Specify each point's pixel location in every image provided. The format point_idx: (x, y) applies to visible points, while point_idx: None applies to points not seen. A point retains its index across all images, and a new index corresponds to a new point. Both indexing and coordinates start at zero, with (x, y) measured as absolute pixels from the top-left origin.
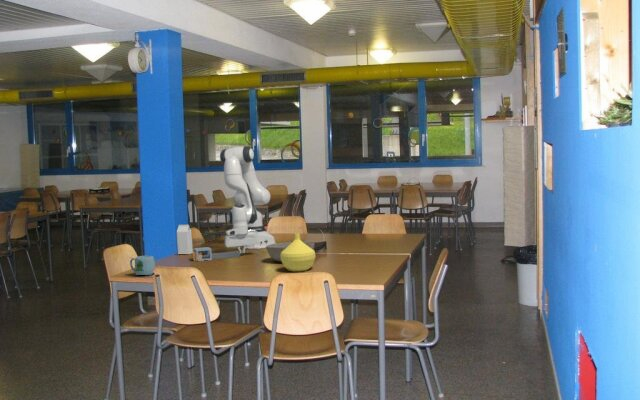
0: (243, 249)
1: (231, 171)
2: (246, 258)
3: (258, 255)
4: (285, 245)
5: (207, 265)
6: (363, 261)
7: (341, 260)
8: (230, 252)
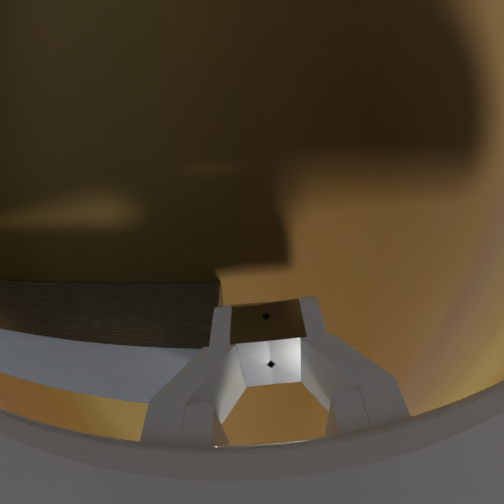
0: (313, 378)
1: None
2: (282, 433)
3: (453, 334)
4: None
5: None
6: None
7: None
8: (66, 378)
